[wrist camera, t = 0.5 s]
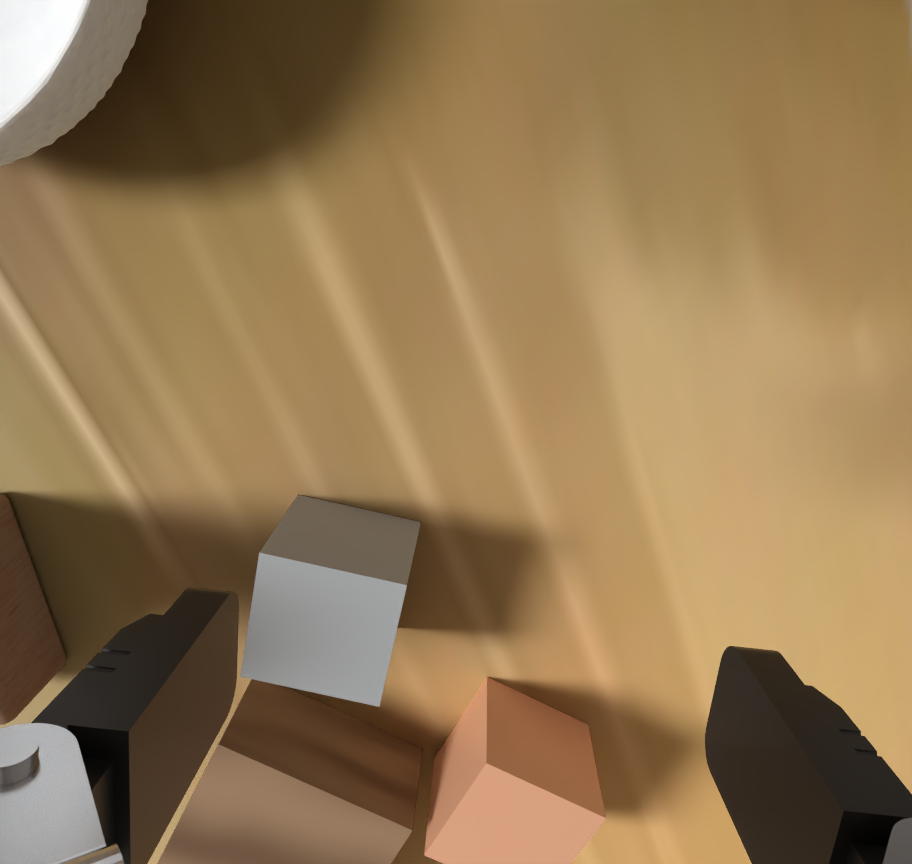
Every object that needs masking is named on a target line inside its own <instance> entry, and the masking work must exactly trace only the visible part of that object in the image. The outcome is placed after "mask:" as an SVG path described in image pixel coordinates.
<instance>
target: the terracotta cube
mask: <svg viewBox="0 0 912 864" xmlns="http://www.w3.org/2000/svg"><path fill="white" fill-rule="evenodd" d="M605 819H606V815H605V810H604V805H603V800H602V794H601V789H600V784H599V779H598V773H597V768H596V763H595V758H594V753H593V747H592V742H591V737H590V732H589V726H588V724H585V723H583V722H581V721H579V720H577V719H575V718H573V717H571V716H569V715H566V714H564V713H562V712H560V711H558V710H556V709H554V708H552V707H550V706H548V705H545V704H543V703H541V702H539V701H537V700H535V699H533V698H531V697H529V696H526V695H524V694H522V693H520V692H518V691H516V690H514V689H512V688H510V687H507V686H505V685H503V684H501V683H499V682H497V681H495V680H493V679H491V678H489V677H486V679H485V681H484V682H483V684H482V685H481V687H480V688H479V690H478V691H477V693H476V695H475V696H474V698H473V699H472V701H471V702H470V704H469V705H468V707H467V708H466V710H465V712H464V713H463V715H462V716H461V718H460V719H459V721H458V722H457V724H456V726H455V727H454V729H453V730H452V732H451V733H450V735H449V736H448V738H447V740H446V741H445V743H444V744H443V746H442V747H441V749H440V750H439V752H438V754H437V755H436V757H435V758H434V764H433V774H432V783H431V793H430V803H429V813H428V823H427V833H426V843H425V853H424V855H425V856H427V857H429V858H431V859H434V860H436V861H438V862H441V863H443V864H571V863H572V862H573V861H574V859H575V858H576V857H577V855H578V854H579V853H580V851H581V850H582V849H583V848H584V846H585V845H586V844H587V842H588V841H589V840H590V838H591V837H592V836H593V835H594V833H595V832H596V831H597V829H598V828H599V827H600V825H601V824H602V823H603V822H604V820H605Z"/></svg>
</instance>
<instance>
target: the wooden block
mask: <svg viewBox="0 0 912 864" xmlns="http://www.w3.org/2000/svg"><path fill="white" fill-rule="evenodd" d="M65 662H66V654H65V652H64V649H63V646H62V643H61V641H60V638H59V635H58V632H57V630H56V627H55V624H54V621H53V619H52V616H51V613H50V610H49V608H48V605H47V602H46V600H45V597H44V594H43V591H42V589H41V586H40V583H39V580H38V578H37V575H36V572H35V569H34V567H33V564H32V561H31V558H30V556H29V553H28V550H27V547H26V545H25V542H24V539H23V536H22V534H21V531H20V528H19V526H18V523H17V520H16V517H15V515H14V512H13V509H12V506H11V504H10V501H9V499H8V498H7V496H6V495H2V494H0V725H2V724H6V723H8V722H10V721H12V720H13V719H15V718H16V717H17V716H18V714H19V713H20V712H21V711H22V710H23V709H24V708H25V707H26V706H27V705H28V704H29V703H30V702H31V700H32V699H33V698H34V697H35V696H36V695H37V694H38V693H39V692H40V691H41V690H42V689H43V688H44V687H45V685H46V684H47V683H48V682H49V681H50V680H51V679H52V678H53V677H54V676H55V675H56V674H57V673H58V671H59V670H60V669H61V668H62V667H63V666H64V665H65Z"/></svg>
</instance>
